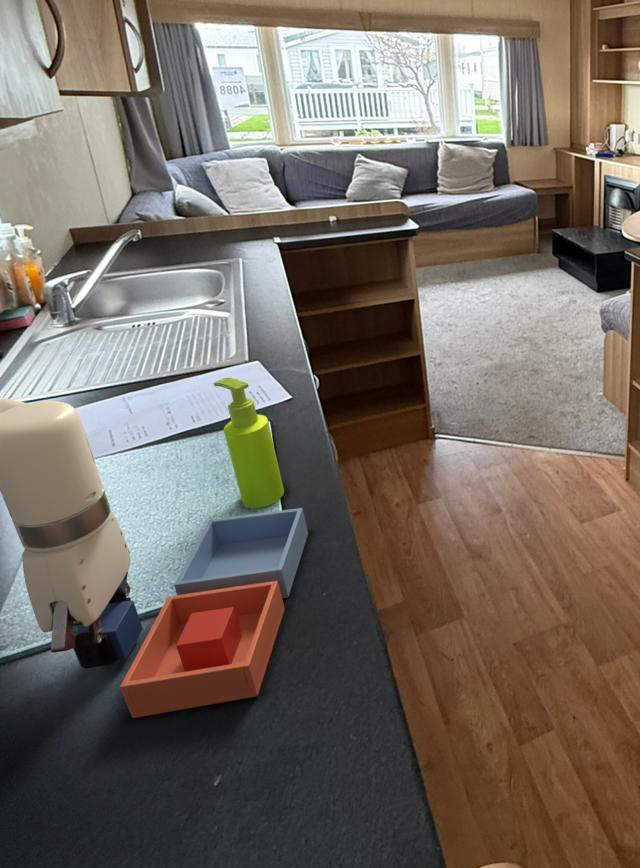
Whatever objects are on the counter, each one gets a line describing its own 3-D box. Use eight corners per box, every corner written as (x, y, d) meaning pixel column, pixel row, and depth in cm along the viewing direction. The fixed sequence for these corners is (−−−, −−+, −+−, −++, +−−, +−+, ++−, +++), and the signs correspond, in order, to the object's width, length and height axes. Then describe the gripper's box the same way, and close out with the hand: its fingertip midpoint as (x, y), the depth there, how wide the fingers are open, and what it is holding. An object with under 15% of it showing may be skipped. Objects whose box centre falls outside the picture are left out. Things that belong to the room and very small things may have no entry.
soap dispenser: (262, 479, 106) (235, 369, 98) (292, 490, 103) (267, 378, 95) (229, 500, 101) (198, 386, 93) (260, 512, 98) (230, 396, 90)
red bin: (132, 718, 68) (119, 687, 66) (177, 625, 79) (167, 596, 77) (257, 696, 70) (248, 665, 68) (285, 608, 81) (277, 580, 79)
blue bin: (183, 613, 80) (173, 585, 79) (216, 545, 91) (208, 519, 90) (288, 597, 83) (281, 569, 81) (308, 533, 94) (302, 507, 92)
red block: (186, 675, 72) (175, 645, 70) (200, 641, 76) (191, 613, 74) (230, 668, 72) (220, 638, 71) (242, 635, 76) (233, 606, 75)
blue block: (80, 667, 72) (68, 637, 70) (100, 634, 76) (89, 605, 74) (125, 660, 73) (114, 631, 71) (143, 628, 77) (133, 600, 75)
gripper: (67, 472, 74) (110, 594, 81) (-34, 581, 59) (30, 719, 66) (140, 465, 76) (176, 585, 83) (60, 570, 61) (113, 706, 67)
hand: (111, 643), depth 74 cm, fingers closed on blue block, 4 cm apart
